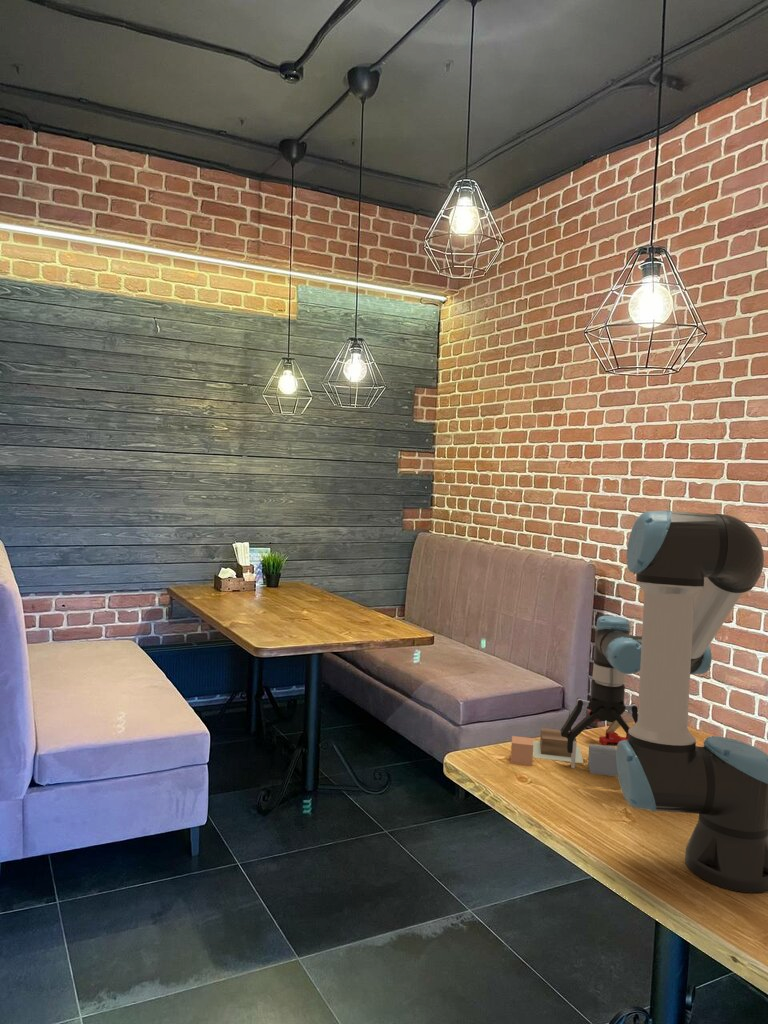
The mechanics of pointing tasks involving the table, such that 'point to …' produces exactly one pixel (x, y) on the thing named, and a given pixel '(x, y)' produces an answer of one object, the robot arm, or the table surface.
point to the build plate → (560, 758)
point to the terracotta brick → (522, 750)
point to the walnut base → (553, 743)
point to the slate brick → (602, 760)
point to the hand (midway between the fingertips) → (601, 769)
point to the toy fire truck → (611, 735)
